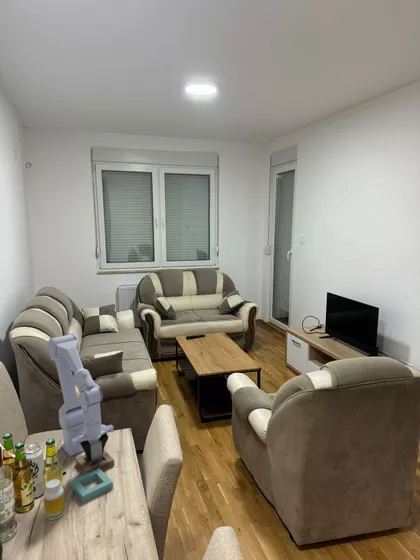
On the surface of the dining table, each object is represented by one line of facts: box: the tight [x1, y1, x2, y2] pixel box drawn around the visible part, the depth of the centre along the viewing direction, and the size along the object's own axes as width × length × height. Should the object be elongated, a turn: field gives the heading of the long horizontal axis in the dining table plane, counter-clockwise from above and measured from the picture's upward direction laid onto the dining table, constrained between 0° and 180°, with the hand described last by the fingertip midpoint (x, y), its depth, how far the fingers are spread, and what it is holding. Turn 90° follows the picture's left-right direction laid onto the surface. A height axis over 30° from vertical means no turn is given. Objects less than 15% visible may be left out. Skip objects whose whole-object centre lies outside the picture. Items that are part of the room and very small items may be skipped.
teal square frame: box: [70, 468, 114, 503], centre depth 123 cm, size 10×10×2 cm
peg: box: [87, 439, 103, 466], centre depth 135 cm, size 4×4×9 cm
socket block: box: [75, 449, 115, 475], centre depth 135 cm, size 10×10×2 cm
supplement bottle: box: [43, 478, 66, 521], centre depth 111 cm, size 5×5×10 cm
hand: (94, 456), depth 135 cm, fingers closed on peg, 4 cm apart
